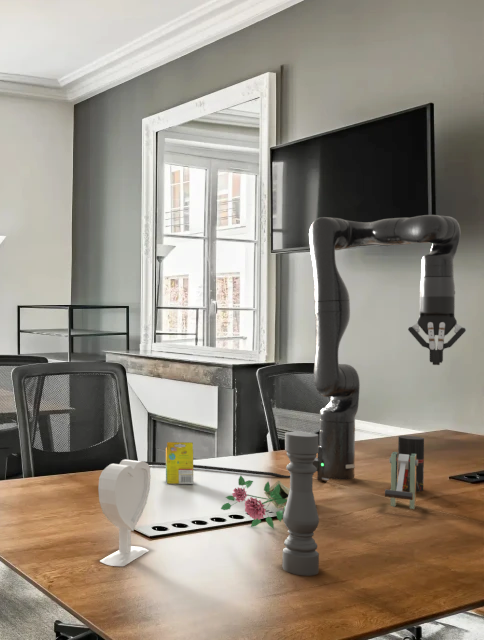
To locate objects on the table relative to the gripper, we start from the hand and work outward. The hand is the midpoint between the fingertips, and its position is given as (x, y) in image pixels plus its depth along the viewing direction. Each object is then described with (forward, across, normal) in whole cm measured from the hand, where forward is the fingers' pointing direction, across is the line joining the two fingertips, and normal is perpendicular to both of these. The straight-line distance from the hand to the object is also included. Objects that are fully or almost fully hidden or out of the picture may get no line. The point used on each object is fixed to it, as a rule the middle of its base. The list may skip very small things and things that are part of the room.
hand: (436, 364), depth 184 cm
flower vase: (+35, -29, -39) cm, 60 cm away
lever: (+27, -6, -17) cm, 32 cm away
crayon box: (+35, -61, -14) cm, 72 cm away
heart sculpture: (+35, -48, -81) cm, 101 cm away
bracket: (+35, -6, -12) cm, 37 cm away
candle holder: (+35, -18, -70) cm, 80 cm away
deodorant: (+35, -6, +9) cm, 37 cm away
